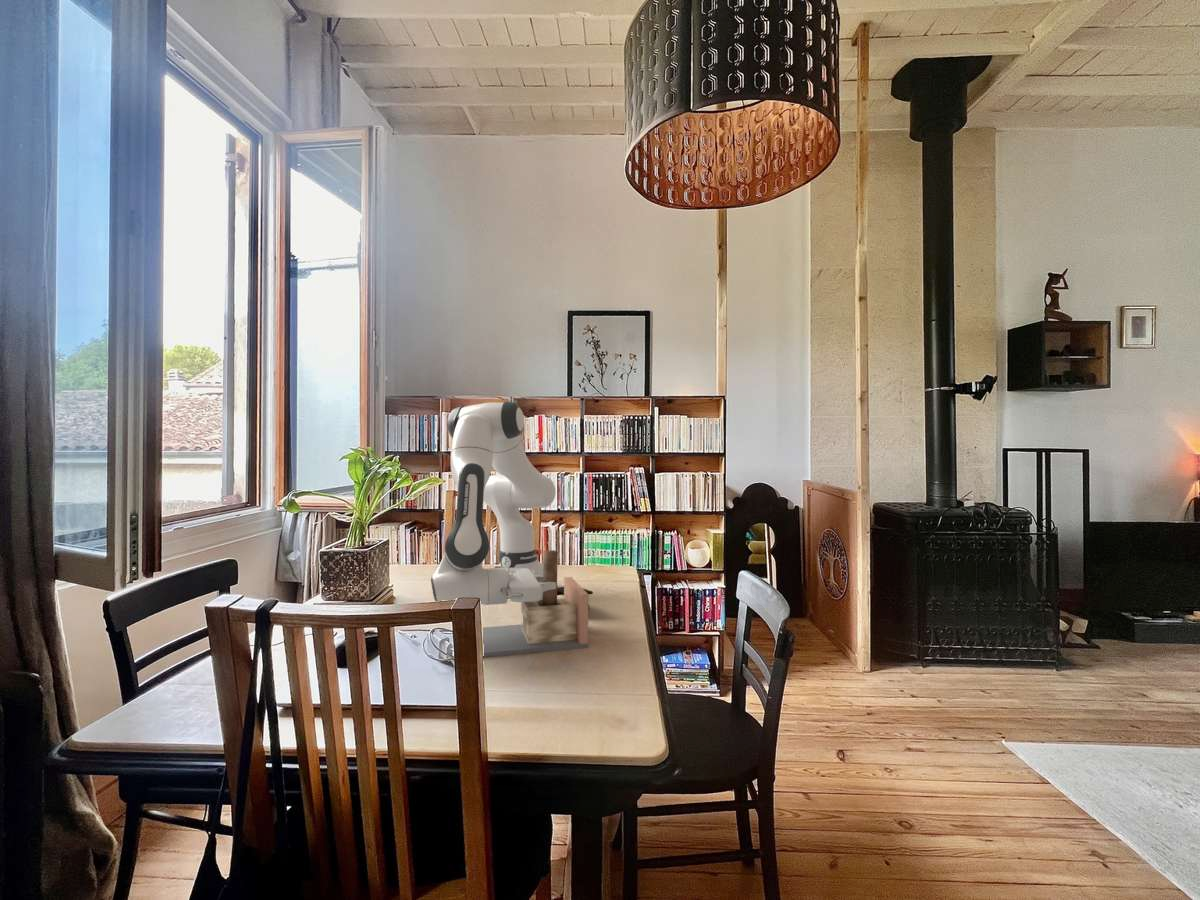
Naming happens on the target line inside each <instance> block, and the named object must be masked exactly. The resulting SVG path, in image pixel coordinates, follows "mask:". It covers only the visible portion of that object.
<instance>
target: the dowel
mask: <svg viewBox="0 0 1200 900" xmlns="http://www.w3.org/2000/svg"><path fill="white" fill-rule="evenodd" d="M542 552H543V553H542V554H543V555H542V559H543V561H542V565H543V583H545V582H548V581H554V582H555V583H556V589H553V590H547V591H544V592H543V595H542V596H543V606H552V605H557V588H558V554H559V553H558V551H557V550H553V549H551V550H549V549H548V550H544V551H542Z"/></svg>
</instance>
